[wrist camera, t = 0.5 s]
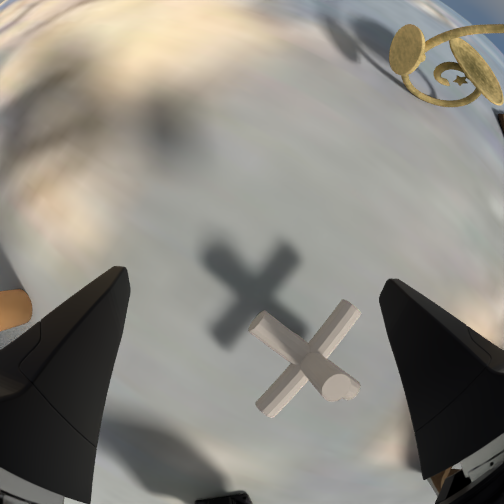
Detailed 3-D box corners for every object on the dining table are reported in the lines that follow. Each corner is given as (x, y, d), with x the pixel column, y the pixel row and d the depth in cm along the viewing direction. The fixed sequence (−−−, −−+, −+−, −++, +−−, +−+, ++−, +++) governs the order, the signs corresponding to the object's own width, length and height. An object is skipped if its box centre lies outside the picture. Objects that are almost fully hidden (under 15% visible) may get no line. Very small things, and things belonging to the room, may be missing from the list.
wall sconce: (379, 108, 26) (528, -18, 1) (370, 54, 26) (472, -65, 2) (458, 143, 28) (591, 81, 3) (445, 90, 28) (551, 18, 3)
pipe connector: (211, 352, 23) (209, 408, 13) (285, 263, 24) (332, 263, 14) (295, 408, 23) (332, 470, 14) (361, 329, 25) (428, 357, 15)
